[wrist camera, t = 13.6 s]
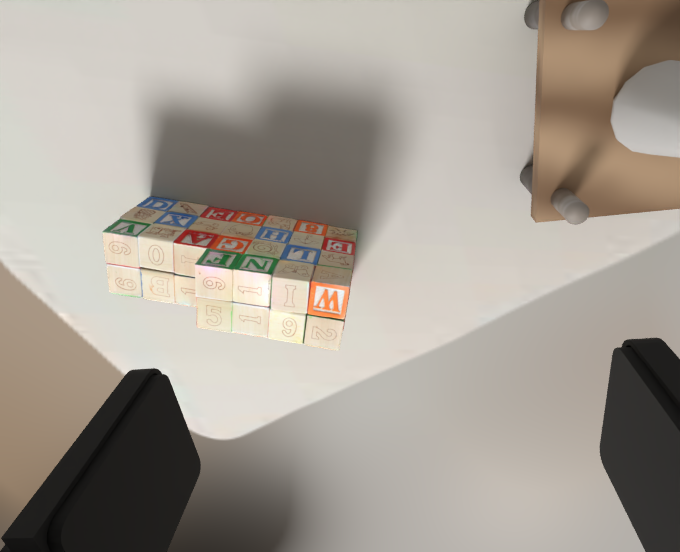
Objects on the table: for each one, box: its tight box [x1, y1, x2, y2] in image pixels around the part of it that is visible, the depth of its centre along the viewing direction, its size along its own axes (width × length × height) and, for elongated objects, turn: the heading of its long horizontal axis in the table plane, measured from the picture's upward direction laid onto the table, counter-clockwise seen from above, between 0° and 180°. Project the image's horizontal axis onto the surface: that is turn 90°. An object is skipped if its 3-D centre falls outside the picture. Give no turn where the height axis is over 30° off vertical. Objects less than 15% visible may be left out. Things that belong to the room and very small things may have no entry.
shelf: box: [520, 0, 680, 225], centre depth 35 cm, size 16×14×11 cm
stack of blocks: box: [102, 197, 357, 350], centre depth 44 cm, size 21×6×12 cm, turn 82°
